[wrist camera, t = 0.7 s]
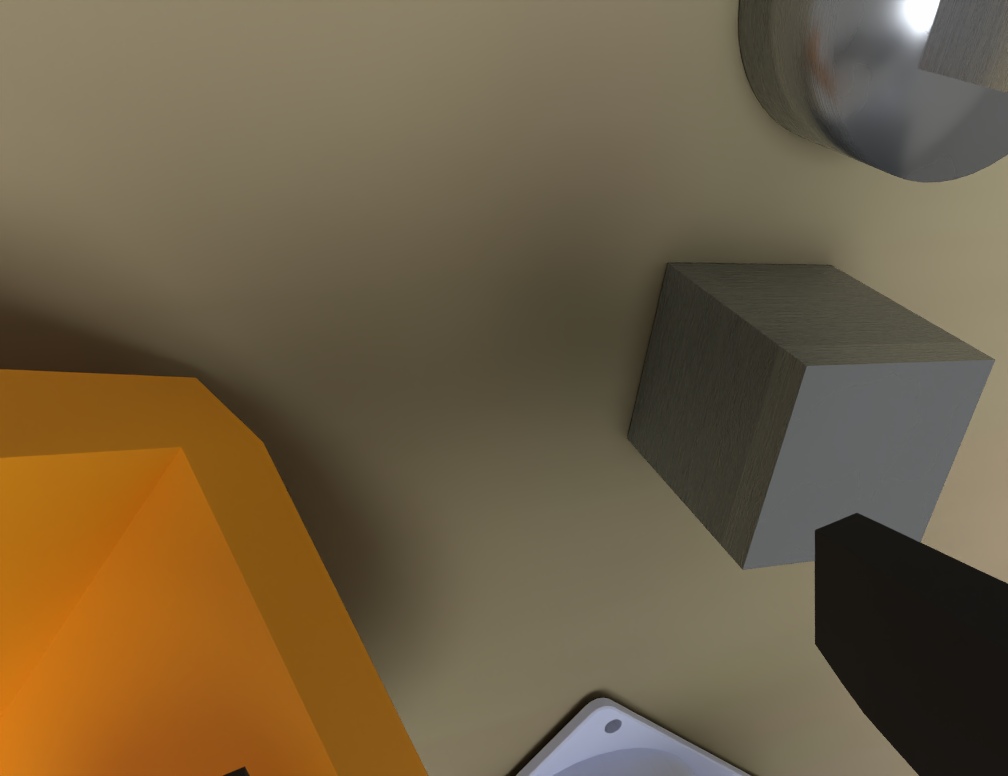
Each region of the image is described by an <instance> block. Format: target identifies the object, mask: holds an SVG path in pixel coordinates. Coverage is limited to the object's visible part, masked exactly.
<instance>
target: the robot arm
mask: <svg viewBox="0 0 1008 776" xmlns="http://www.w3.org/2000/svg"><path fill="white" fill-rule="evenodd" d="M815 644H816V646H817V647H818V649H819V650H820V652H821V653H822V655H823V656H824V657H825V659H826V660H827V662H828V663H829V665H830V666H831V668H832V669H833V671H834V672H835V674H836V675H837V676H838V678H839V679H840V681H841V682H842V684H843V685H844V686H845V688H846V689H847V691H848V692H849V693H850V695H851V696H852V697H853V699H854V700H855V702H856V703H857V704H858V706H859V707H860V708H861V710H862V711H863V713H864V714H865V715H866V716H867V717H868V718H869V720H870V721H871V722H872V723H873V724H874V725H875V727H876V728H877V729H878V730H879V731H880V732H881V733H882V734H883V736H884V737H885V738H886V739H887V740H888V741H889V742H890V743H891V745H892V746H893V747H894V748H895V749H896V750H897V751H898V752H899V754H900V755H901V756H902V757H903V758H904V759H905V760H906V761H907V763H908V764H909V765H910V766H911V767H912V768H913V769H914V770H915V771H916V773H917V774H918V775H919V776H1008V584H1007V583H1005V582H1003V581H1001V580H999V579H997V578H994V577H992V576H990V575H988V574H986V573H984V572H981V571H979V570H977V569H975V568H973V567H971V566H969V565H967V564H964V563H962V562H960V561H958V560H956V559H954V558H952V557H950V556H948V555H945V554H943V553H941V552H939V551H937V550H935V549H933V548H931V547H929V546H927V545H925V544H922V543H920V542H918V541H916V540H914V539H912V538H910V537H908V536H906V535H904V534H902V533H900V532H897V531H895V530H893V529H891V528H889V527H887V526H885V525H883V524H881V523H878V522H876V521H874V520H872V519H870V518H868V517H865V516H863V515H861V514H859V513H855V514H852V515H850V516H848V517H845V518H843V519H840V520H838V521H835V522H833V523H831V524H828V525H826V526H823V527H821V528H819V529H816V530H815ZM223 776H250V775H249V773H248V771H247V770H246V768H245V766H244V767H242V768H240V769H237V770H235V771H232V772H230V773H228V774H225V775H223ZM516 776H751V775H749V774H747V773H745V772H743V771H742V770H740V769H738V768H736V767H734V766H732V765H730V764H729V763H727V762H725V761H723V760H721V759H719V758H717V757H716V756H714V755H712V754H710V753H708V752H706V751H705V750H703V749H701V748H699V747H697V746H695V745H693V744H692V743H690V742H688V741H686V740H684V739H682V738H681V737H679V736H677V735H675V734H673V733H671V732H669V731H668V730H666V729H664V728H662V727H660V726H658V725H656V724H655V723H653V722H651V721H649V720H647V719H645V718H644V717H642V716H640V715H638V714H636V713H634V712H632V711H631V710H629V709H627V708H625V707H623V706H621V705H620V704H618V703H616V702H614V701H612V700H610V699H607V698H597V699H595V700H593V701H591V702H590V703H588V704H587V705H586V706H585V707H584V708H583V709H582V710H581V711H580V712H579V713H578V714H577V715H576V716H575V717H574V718H573V719H572V720H571V721H570V722H569V723H568V724H567V725H566V726H565V727H564V728H563V729H562V730H561V731H560V732H559V733H558V734H557V735H556V736H555V737H554V738H553V739H552V740H551V741H550V742H549V743H548V744H547V745H546V746H545V747H544V748H543V749H542V750H541V751H540V752H539V753H538V754H537V755H536V756H535V757H534V758H533V759H532V760H531V761H530V762H529V763H528V764H527V765H526V766H525V767H524V768H523V769H522V770H521V771H520V772H519V773H518V774H517V775H516Z"/></svg>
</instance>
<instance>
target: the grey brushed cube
mask: <svg viewBox="0 0 1008 776" xmlns="http://www.w3.org/2000/svg"><path fill="white" fill-rule="evenodd" d="M994 362H995V359H993V358H991V357H990V356H988V355H986V354H984V353H983V352H981V351H979V350H977V349H976V348H974V347H972V346H970V345H969V344H967V343H965V342H964V341H962V340H960V339H958V338H957V337H955V336H953V335H951V334H950V333H948V332H946V331H944V330H943V329H941V328H939V327H938V326H936V325H934V324H932V323H931V322H929V321H927V320H925V319H924V318H922V317H920V316H918V315H917V314H915V313H913V312H912V311H910V310H908V309H906V308H905V307H903V306H901V305H899V304H898V303H896V302H894V301H892V300H891V299H889V298H887V297H886V296H884V295H882V294H880V293H879V292H877V291H875V290H873V289H872V288H870V287H868V286H866V285H865V284H863V283H861V282H860V281H858V280H856V279H854V278H853V277H851V276H849V275H847V274H846V273H844V272H842V271H840V270H839V269H837V268H835V267H834V266H832V265H772V264H705V263H668V264H667V269H666V273H665V277H664V282H663V286H662V290H661V295H660V299H659V303H658V308H657V312H656V316H655V321H654V325H653V329H652V334H651V338H650V342H649V347H648V351H647V355H646V360H645V364H644V368H643V373H642V377H641V382H640V386H639V390H638V395H637V399H636V403H635V408H634V412H633V416H632V421H631V425H630V429H629V434H628V438H627V439H628V440H629V441H630V442H631V443H632V445H633V446H634V447H635V448H636V449H637V450H638V451H639V452H640V454H641V455H642V456H643V457H644V458H645V459H646V460H647V462H648V463H649V464H650V465H651V466H652V467H653V468H654V470H655V471H656V472H657V473H658V474H659V475H660V476H661V477H662V479H663V480H664V481H665V482H666V483H667V484H668V485H669V487H670V488H671V489H672V490H673V491H674V492H675V493H676V494H677V496H678V497H679V498H680V499H681V500H682V501H683V502H684V504H685V505H686V506H687V507H688V508H689V509H690V510H691V512H692V513H693V514H694V515H695V516H696V517H697V518H698V519H699V521H700V522H701V523H702V524H703V525H704V526H705V527H706V529H707V530H708V531H709V532H710V533H711V534H712V535H713V537H714V538H715V539H716V540H717V541H718V542H719V543H720V544H721V546H722V547H723V548H724V549H725V550H726V551H727V552H728V554H729V555H730V556H731V557H732V558H733V559H734V560H735V562H736V563H737V564H738V565H739V566H740V567H741V568H742V569H743V570H745V569H753V568H761V567H769V566H777V565H784V564H792V563H800V562H808V561H815V530H816V529H819V528H821V527H823V526H826V525H828V524H831V523H833V522H835V521H838V520H840V519H843V518H845V517H848V516H850V515H852V514H855V513H859V514H861V515H863V516H865V517H868V518H870V519H872V520H874V521H876V522H878V523H881V524H883V525H885V526H887V527H889V528H891V529H893V530H895V531H897V532H900V533H902V534H904V535H906V536H908V537H910V538H912V539H914V540H916V541H918V542H921V539H922V537H923V534H924V532H925V529H926V527H927V525H928V522H929V520H930V517H931V515H932V512H933V510H934V508H935V505H936V503H937V500H938V498H939V495H940V493H941V490H942V488H943V486H944V483H945V481H946V478H947V476H948V473H949V471H950V469H951V466H952V464H953V461H954V459H955V456H956V454H957V452H958V449H959V447H960V444H961V442H962V439H963V437H964V435H965V432H966V430H967V427H968V425H969V422H970V420H971V418H972V415H973V413H974V410H975V408H976V405H977V403H978V401H979V398H980V396H981V393H982V391H983V388H984V386H985V384H986V381H987V379H988V376H989V374H990V371H991V369H992V366H993V364H994Z"/></svg>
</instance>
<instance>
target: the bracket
mask: <svg viewBox="0 0 1008 776" xmlns="http://www.w3.org/2000/svg"><path fill="white" fill-rule="evenodd" d="M244 766H245V768H246V770H247V771H248V773H249V775H250V776H428V774H427V772H426V770H425V768H424V766H423V764H422V762H421V760H420V758H419V756H418V754H417V752H416V750H415V748H414V746H413V744H412V742H411V740H410V738H409V736H408V734H407V732H406V730H405V728H404V725H403V723H402V721H401V719H400V717H399V715H398V713H397V711H396V709H395V707H394V705H393V703H392V701H391V699H390V697H389V695H388V693H387V691H386V689H385V687H384V685H383V683H382V681H381V679H380V677H379V675H378V673H377V671H376V669H375V667H374V665H373V663H372V661H371V659H370V657H369V655H368V653H367V651H366V649H365V647H364V645H363V643H362V641H361V639H360V637H359V635H358V633H357V631H356V629H355V627H354V625H353V623H352V621H351V619H350V617H349V615H348V612H347V610H346V608H345V606H344V604H343V602H342V600H341V598H340V596H339V594H338V592H337V590H336V588H335V586H334V584H333V582H332V580H331V578H330V576H329V574H328V572H327V570H326V568H325V566H324V564H323V562H322V560H321V558H320V556H319V554H318V552H317V550H316V548H315V546H314V544H313V542H312V540H311V538H310V536H309V534H308V532H307V530H306V528H305V526H304V524H303V522H302V520H301V518H300V516H299V514H298V512H297V510H296V508H295V506H294V504H293V501H292V499H291V497H290V495H289V493H288V491H287V489H286V487H285V485H284V483H283V481H282V479H281V477H280V475H279V473H278V471H277V469H276V467H275V465H274V463H273V461H272V459H271V457H270V455H269V453H268V451H267V449H266V447H265V445H264V443H263V442H262V441H261V440H260V439H259V438H258V437H257V436H256V435H255V434H254V433H253V432H252V431H251V430H250V429H249V428H248V427H247V426H246V425H245V424H244V423H243V422H242V421H241V420H239V419H238V418H237V417H236V416H235V415H234V414H233V413H232V412H231V411H230V410H229V409H228V408H227V407H226V406H225V405H224V404H223V403H222V402H221V401H220V400H219V399H218V398H217V397H215V396H214V395H213V394H212V393H211V392H210V391H209V390H208V389H207V388H206V387H205V386H204V385H203V384H202V383H201V382H200V381H199V380H198V379H197V378H192V377H169V376H146V375H123V374H100V373H77V372H54V371H32V370H9V369H0V776H223V775H225V774H228V773H230V772H232V771H235V770H237V769H240V768H242V767H244Z"/></svg>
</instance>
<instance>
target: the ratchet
mask: <svg viewBox="0 0 1008 776" xmlns="http://www.w3.org/2000/svg"><path fill="white" fill-rule="evenodd" d="M739 41H740V47H741V54H742V60H743V63H744V67H745V71H746V74H747V77H748V80H749V82H750V84H751V87H752V89H753V91H754V93H755V95H756V97H757V98H758V100H759V101H760V103H761V105H762V106H763V108H764V109H765V110H766V111H767V112H768V113H769V114H770V116H771V117H772V118H773V119H774V120H775V121H777V122H778V123H779V124H780V125H782V126H783V127H784V128H785V129H787V130H789V131H791V132H793V133H794V134H796V135H798V136H801V137H803V138H805V139H808V140H810V141H812V142H815V143H817V144H820V145H822V146H824V147H827V148H829V149H832V150H834V151H836V152H839V153H841V154H844V155H846V156H848V157H851V158H853V159H856V160H858V161H860V162H863V163H865V164H868V165H870V166H872V167H875V168H877V169H880V170H882V171H884V172H887V173H889V174H892V175H894V176H897V177H900V178H903V179H906V180H910V181H917V182H942V181H948V180H953V179H958V178H961V177H964V176H967V175H970V174H973V173H975V172H977V171H979V170H981V169H983V168H986V167H988V166H990V165H991V164H993V163H995V162H996V161H998V160H1000V159H1001V158H1003V157H1004V156H1006V155H1007V154H1008V0H740V8H739Z"/></svg>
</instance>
